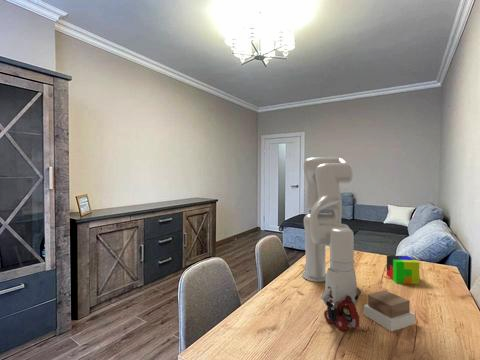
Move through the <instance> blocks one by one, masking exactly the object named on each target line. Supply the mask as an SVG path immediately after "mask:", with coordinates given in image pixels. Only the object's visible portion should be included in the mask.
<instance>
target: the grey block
mask: <svg viewBox="0 0 480 360" xmlns="http://www.w3.org/2000/svg"><path fill="white" fill-rule="evenodd" d="M363 316H365V317H367V318H369V319H370V320H372V321H373V322H375V323H377V324H378V325H380V326H382V327H384V328H385V329H387V330H388V331H389V332H394V331H397V330H400V329H404V328H408V327H409V326H410V325H411V326H413V324H414V325H415V324H416V313H414V312H412V311H410V312H409V313H406V314H403V315H400V316H397V317H394V318H390V317H388V316H386V315H384V314H382V313H380V312H379V311H377V310H375V309H373V308H371V307H369V306H368V303H366V304H364V305H363Z"/></svg>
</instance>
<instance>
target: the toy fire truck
mask: <svg viewBox="0 0 480 360" xmlns="http://www.w3.org/2000/svg"><path fill="white" fill-rule="evenodd" d="M328 299H329V297H328ZM351 301H352V298H351V297H350V296H347V297H346V299H345V300H343V301H338V302H337V304H336V307H335V309H336V322H334V321H332V320H331V319H330V318H329V317H328V306H327V305H326V310H325V311H324V313H323V316H324V319H325V321H326V322H327V323H329V324H333V323H335V324H336V327H337V328H338V329H339V330H340V331H342V332H344V331H346V330H348V328H349V327H351V328H353V329H358V328H359V327H360V316H359V313H358V310H357V307H356V305H355V304H354V303H353V302H351ZM332 303H333V300H332V302H331V304H332Z"/></svg>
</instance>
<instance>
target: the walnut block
mask: <svg viewBox="0 0 480 360" xmlns="http://www.w3.org/2000/svg"><path fill="white" fill-rule="evenodd" d="M367 304H368V306H369V307H371V308H373V309H375V310H377V311H379V312H380V313H382V314H384V315H386V316H388V317H390V318H394V317H397V316H400V315H403V314H406V313H409V312H411V311H410V309H411V307H410V305H411V304H410V300H409V299H408V298H404V297H402V296H399V295H397V294H396V293H392V292H390V291H388V290H386V289H385V290H382V291H378V292H374V293H370V294H368V295H367Z"/></svg>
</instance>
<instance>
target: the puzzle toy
mask: <svg viewBox="0 0 480 360" xmlns="http://www.w3.org/2000/svg"><path fill="white" fill-rule="evenodd" d="M386 276H387V277H388V278H389V279H391V281H393V282H394V283H396V284H413V285H420V262H419V261H418V260H416V259H414V258H412V257H411V256H408V255H386Z"/></svg>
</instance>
